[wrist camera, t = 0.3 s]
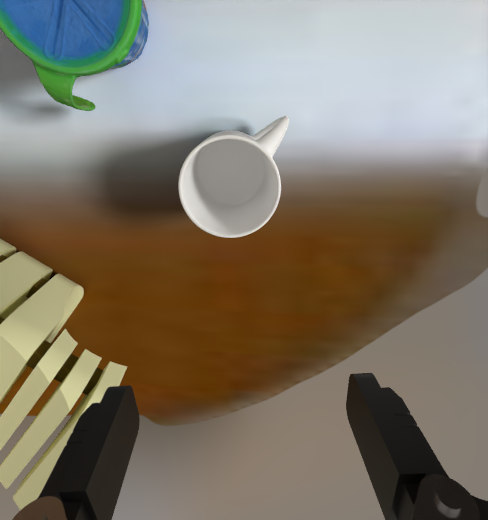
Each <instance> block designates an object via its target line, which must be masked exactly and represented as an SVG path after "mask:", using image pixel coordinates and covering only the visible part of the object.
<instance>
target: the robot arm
mask: <svg viewBox="0 0 488 520" xmlns="http://www.w3.org/2000/svg"><path fill="white" fill-rule="evenodd" d="M346 410H347V416H348V420H349V423H350V426H351V428H352V431H353V434H354V437H355V439H356V442H357V445H358V447H359V450H360V453H361V456H362V458H363V461H364V464H365V466H366V469H367V472H368V474H369V477H370V480H371V482H372V485H373V488H374V490H375V493H376V496H377V499H378V501H379V504H380V507H381V509H382V512H383V515H384V517H385V520H488V501H485V500H482V499H478V498H476V497H474V496H472V495H470V493H469V492H468V491H467V490H466V489H465V488H464V487H463V486H462V485H460V484H459V483H458V482H456V481H455V480H453V479H451V478H449V476H448V475H447V474H446V472H445V471H444V469H443V467H442V466H441V464H440V462H439V461H438V459H437V457H436V456H435V454H434V452H433V450H432V449H431V447H430V445H429V444H428V442H427V440H426V439H425V437H424V435H423V433H422V432H421V430H420V429H419V427H417V423H416V422H415V420H414V418H413V417H412V416H411V415H410V411H409V410H408V408H407V406H406V405H405V403H404V401H403V400H402V398H401V397H399V396H398V395H397V394H396V393H395V392H394V391H393V390H392V389H391V388H389V387H388V388H381V387H380V385H379V384H378V382H377V380H376V378H375V376H374V375H373V374H372V373H363V374H351V375H350V377H349V384H348V393H347V401H346ZM138 430H139V413H138V409H137V405H136V401H135V397H134V393H133V390H132V387H131V386H112V387H108V388H107V390H106V391H105V394H104V396H103V398H102V400H101V402H100V403H92V404H91V405H90V406H89V407H88V408H87V409H86V410H85V411H84V413H83V414H82V415H81V416H80V417H79V419H78V421H77V423H76V425H75V427H74V429H73V433H71V435H70V437H69V439H68V441H67V445H66V446H65V447H64V449H63V451H62V453H61V454H60V456H59V458H58V460H57V462H56V464H55V466H54V468H53V470H52V472H51V474H50V476H49V478H48V480H47V482H46V484H45V486H44V488H43V490H42V492H41V493H40V495H39V497H38V498H37V499H36V500H34V501H33V502H31V503H29V504H28V505H26V506H25V507H24V508H23V509H22V510H20V511H19V513H18V514H16V516H15V517H14V518H13V519H12V520H111V519H112V516H113V513H114V509H115V506H116V503H117V499H118V496H119V493H120V490H121V487H122V483H123V480H124V477H125V473H126V470H127V467H128V464H129V460H130V457H131V454H132V450H133V447H134V443H135V441H136V437H137V434H138Z"/></svg>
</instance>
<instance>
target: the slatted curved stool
mask: <svg viewBox="0 0 488 520" xmlns="http://www.w3.org/2000/svg"><path fill="white" fill-rule="evenodd" d="M52 272H53V270H52V269H51V268H49V267H48V266H46V265H44V264H42V263H41V262H39V261H37V260H36V259H34V258H32V257H31V256H29V255H27V254H26V253H24V252H17V253H16V248H15V247H14V246H12V245H10V244H9V243H7V242H5V241H4V240H2V239H0V403H1V402H2V400H3V399H4V397H5V396H6V395H7V393H8V392H9V390H10V389H11V388H12V386H13V385H14V383H15V382H16V381H17V379H18V378H19V377H20V375H21V374H22V372H23V371H24V370H25V368H26V367H27V366H29V367H31V368H33V369H34V370H33V371H32V373H31V374H30V375H29V377H28V378H27V380H26V381H25V383H24V384H23V386H22V387H21V388H20V390H19V391H18V393H17V394H16V396H15V397H14V398H13V400H12V401H11V403H10V404H9V406H8V407H7V408H6V410H5V411H4V413H3V414H2V416H1V417H0V450H1V449H2V447H3V446H4V445H5V443H6V442H7V440H8V439H9V438H10V437H11V435H12V434H13V433H14V431H15V430H16V428H17V427H18V426H19V424H20V423H21V422H22V420H23V419H24V418H25V416H26V415H27V414H28V412H29V411H30V410H31V408H32V407H33V406H34V404H35V403H36V402H37V400H38V399H39V397H40V396H41V395H42V393H43V392H44V391H45V389H46V388H47V387H48V385H49V384H50V383H51V381H52V380H53V379H55V380H57V381H59V382H61V383H60V384H59V386H58V387H57V389H56V390H55V391H54V393H53V394H52V396H51V397H50V399H49V400H48V401H47V403H46V404H45V406H44V407H43V408H42V410H41V411H40V412H39V414H38V415H37V417H36V418H35V419H34V421H33V422H32V423H31V425H30V426H29V427H28V429H27V430H26V431H25V433H24V434H23V435H22V437H21V438H20V439H19V441H18V442H17V444H16V445H15V446H14V448H13V449H12V450H11V451H10V453H9V454H8V456H7V457H6V458H5V459H4V461H3V462H2V464H1V465H0V482H1V483H2V484H3V486H4V487H5V488H6V489H7V488H8V487H9V486H10V485H11V483H12V482H13V481H14V480H15V478H16V477H17V476H18V475H19V474H20V472H21V471H22V470H23V468H24V467H25V466H26V465H27V464H28V462H29V461H30V460H31V459H32V457H33V456H34V455H35V454H36V452H37V451H38V450H39V448H40V447H41V446H42V445H43V444H44V442H45V441H46V440H47V439H48V437H49V436H50V435H51V434H52V432H53V431H54V430H55V429H56V428H57V426H58V425H59V424H60V422H61V421H62V420H63V419H64V418H65V416H66V415H67V414H68V413H69V411H70V410H71V409H72V407H73V406H74V404H75V403H76V401H77V399H78V398H79V396H80V395H81V393H84V394H85V396H84V398H83V399H82V401H81V402H80V404H79V406H78V407H77V409H76V410H75V412H74V413H73V415H72V416H71V418H70V419H69V421H68V422H67V423H66V425H65V426H64V428H63V429H62V430H61V432H60V433H59V435H58V436H57V437H56V439H55V440H54V441H53V443H52V444H51V445H50V446H49V448H48V449H47V450H46V452H45V453H44V454H43V456H42V457H41V458H40V459H39V461H38V462H37V463H36V465H35V466H34V467H33V468H32V469H31V471H30V472H29V473H28V474H27V476H26V477H25V478H24V479H23V481H22V482H21V484H20V486H19V487H18V489H17V491H16V493H15V494H14V496H13V499H14V501H15V503H16V504H17V506H18V507H19V509H20V510H22V509H23V508H24V507H25V506H26V505H28V504H29V503H31V502H33V501H34V500H36V499H37V498H38V497H39V495H40V493H41V492H42V490H43V488H44V486H45V484H46V482H47V480H48V478H49V476H50V474H51V472H52V470H53V468H54V466H55V464H56V462H57V460H58V458H59V456H60V454H61V453H62V451H63V449H64V447H65V446H66V445H67V441H68V439H69V437H70V435H71V433H73V429H74V427H75V425H76V423H77V421H78V419H79V417H80V416H81V415H82V414H83V413H84V411H85V410H86V409H87V408H88V407H89V406H90V405H91V404H92V403H100V402H101V400H102V398H103V396H104V394H105V391H106V390H107V388H108V387H112V386H119V385H120V382H121V380H122V378H123V375H124V373H125V371H126V368H127V367H126V366H123V365H119V364H116V363H113V362H109V364H108V365H107V366H106V367H105V369H104V370H101V369H99V368H97V366H98V364H99V362H100V360H101V359H102V358H101V357H99V356H97V355H95V354H93V353H91V352H89V351H88V350H86V349H85V350H84V352H83V353H82V354H81V356H80V357H79V358H78V357H76V356H74V355H72V354H71V353H72V351H73V350H74V348H75V347H76V346H77V344H78V343H77V342H76V341H75V340H74V339H73V338H72V337H71V336H70V335H69V334H68V332H67V330H66V329H65V330H64V331H63V332H62V333H61V335H60V336H59V337H58V338H57V340H56V341H55V342H54V343H53V344H51V342H52V341H53V339H54V338H55V336H56V335H57V333H58V332H59V331H60V329H61V328H62V326H63V325H64V323H65V322H66V321H67V319H68V318H69V316H70V315H71V313H72V312H73V310H74V309H75V308H76V306H77V305H78V303H79V302H80V300H81V299H82V297H83V294H84V290H83V288H82V287H81V286H80V285H78V284H76V283H75V282H73V281H71V280H70V279H68V278H66V277H65V276H63V275H61V274H57V275H55V276H54V277H53V278H51V279H50V280H49V278H50V276H51V274H52ZM48 280H49V281H48Z"/></svg>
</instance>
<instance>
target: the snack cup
mask: <svg viewBox="0 0 488 520" xmlns="http://www.w3.org/2000/svg"><path fill="white" fill-rule="evenodd" d="M148 25H149V22H148V15H147V11H146V7H145V4H144V1H143V0H0V28H1V30H2V31H3V32H4V34H5V35H6V36H7V37H8V39H9V40H10V41H11V42H12V43H13V44H14V45H15V46H16V47H17V48H18V49H19V50H20V51H22V52H23V53H24V54H25V55H26V56H28V57H29V58H30V59H31V60H32V62H33V64H34V66H35V68H36V71H37V74H38V76H39V78H40V82H41V83H42V84H43V86H44V88H45V89H46V91H47V92H48V94H49V95H50V96H51V97H52V98H53V99H54V100H56V101H57V102H59V103H61V104H65V105H67V106H71V107H73V108H76V109H79V110H85V111H91V110H93V109H95V105H94V103H92V102H90V101H88V100H85V99H83V98H80V97H77V96H73V95H72V87H73V84H74V81H75V79H76V78H77V77H79V76H86V75H93V74H97V73H101V72H103V71H106V70H107V69H113V68H120V67H123V66H125V65H128V64H129V63H131V62H133V61H134V60H136V59H137V58H138V57H139V56H140V55H141V54H142V50H143V48H144V46H145V44H146V41H147V36H148Z"/></svg>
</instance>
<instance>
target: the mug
mask: <svg viewBox="0 0 488 520" xmlns="http://www.w3.org/2000/svg"><path fill="white" fill-rule="evenodd" d="M288 124H289V118H288V117H287V116H284V117H281V118H279V119H277V120H276V121H274V122H272V123H271V124H269V125H268V126H266V127H265V128H264V129H262V130H261V131H259V132H258V133H256V134H255V135H253V136H249V135H247V134H245V133H242V132H239V131H233V130H228V131H221V132H218V133H215V134H213V135H211V136H210V137H208V138H207V139H205V140H204V141H203V142H202V143H200V144H199V145H198V146H196V147H195V148H194V149H193V150H192V151H191V152H190V154H189V155H188V156H187V158H186V159H185V161H184V163H183V165H182V168H181V171H180V175H179V182H178V190H179V197H180V200H181V204H182V206H183V208H184V210H185V212H186V213H187V215H188V216H189V218H190V219H191V220H192V221H193V222H194V223H195V224H196V225H197V226H198V227H200V228H201V229H202V230H204V231H206V232H208V233H210V234H212V235H216V236H219V237H226V238H234V237H241V236H245V235H248V234H250V233H252V232H254V231H256V230H258V229H259V228H261V227H262V226H263V225H264V224H265V223H266V222H267V221H268V220H269V219H270V218H271V216H272V215H273V213H274V211H275V210H276V208H277V205H278V202H279V198H280V192H281V181H280V175H279V172H278V168H277V166H276V164H275V162H274V160H273V159H272V157H273V155H274V153H275V151H276V150H277V148H278V146H279V144H280V143H281V141H282V139H283V137H284V135H285V133H286V130H287V128H288Z"/></svg>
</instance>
